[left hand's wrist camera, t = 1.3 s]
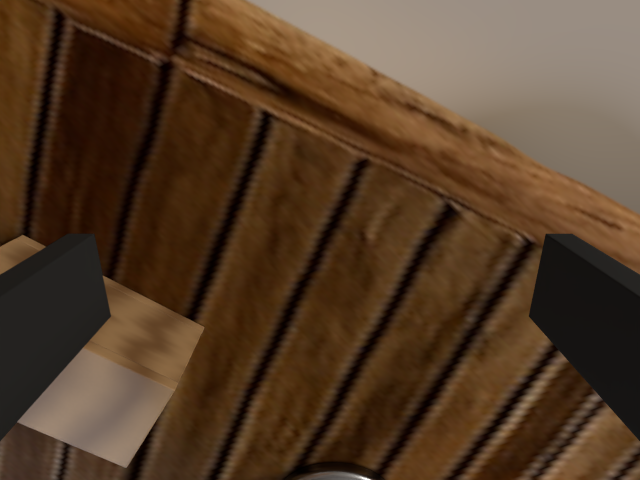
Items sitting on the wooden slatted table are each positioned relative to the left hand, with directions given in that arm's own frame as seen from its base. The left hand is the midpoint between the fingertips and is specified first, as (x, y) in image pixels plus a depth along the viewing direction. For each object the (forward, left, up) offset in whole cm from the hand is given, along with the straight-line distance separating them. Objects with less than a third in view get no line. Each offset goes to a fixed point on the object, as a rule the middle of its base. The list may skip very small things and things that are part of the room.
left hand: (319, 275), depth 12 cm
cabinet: (-23, +15, -24) cm, 36 cm away
